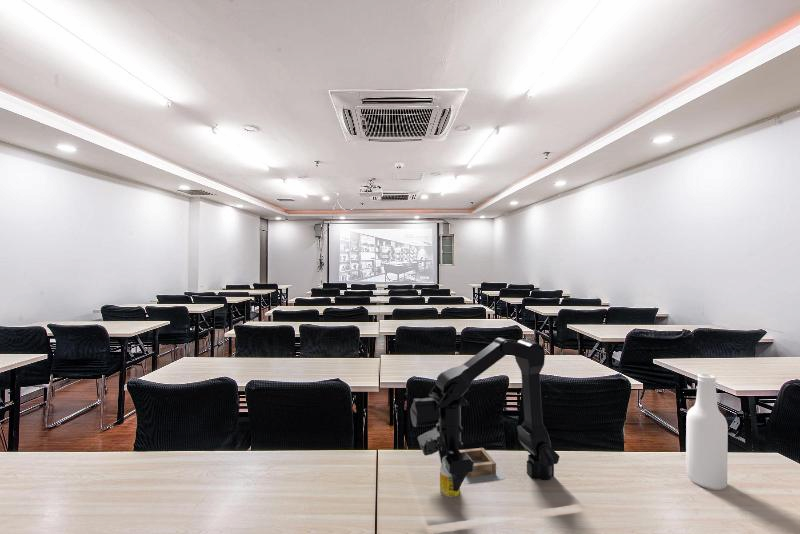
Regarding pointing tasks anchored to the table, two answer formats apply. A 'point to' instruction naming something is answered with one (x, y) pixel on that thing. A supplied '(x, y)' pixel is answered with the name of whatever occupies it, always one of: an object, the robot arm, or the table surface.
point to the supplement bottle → (446, 481)
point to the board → (484, 476)
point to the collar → (480, 468)
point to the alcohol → (706, 438)
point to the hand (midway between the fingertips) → (449, 479)
